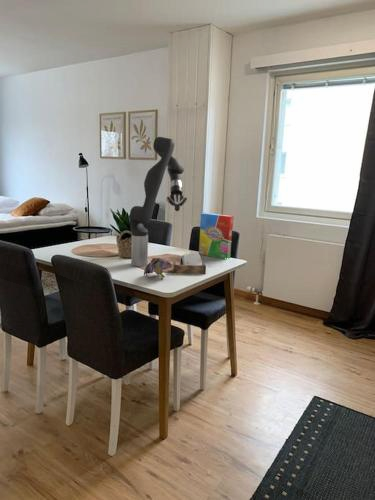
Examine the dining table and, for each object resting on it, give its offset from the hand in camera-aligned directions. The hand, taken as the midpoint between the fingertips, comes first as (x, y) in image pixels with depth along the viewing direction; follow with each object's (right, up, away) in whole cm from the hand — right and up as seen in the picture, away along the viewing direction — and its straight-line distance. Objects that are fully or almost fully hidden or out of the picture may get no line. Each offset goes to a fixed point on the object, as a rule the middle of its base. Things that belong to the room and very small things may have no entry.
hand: (177, 210), depth 223 cm
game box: (+24, -28, +17) cm, 41 cm away
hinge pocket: (+7, -36, -22) cm, 42 cm away
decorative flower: (-10, -38, -35) cm, 52 cm away
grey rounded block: (+8, -35, -15) cm, 39 cm away
